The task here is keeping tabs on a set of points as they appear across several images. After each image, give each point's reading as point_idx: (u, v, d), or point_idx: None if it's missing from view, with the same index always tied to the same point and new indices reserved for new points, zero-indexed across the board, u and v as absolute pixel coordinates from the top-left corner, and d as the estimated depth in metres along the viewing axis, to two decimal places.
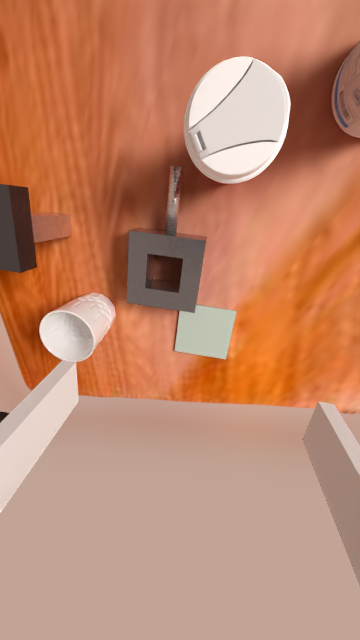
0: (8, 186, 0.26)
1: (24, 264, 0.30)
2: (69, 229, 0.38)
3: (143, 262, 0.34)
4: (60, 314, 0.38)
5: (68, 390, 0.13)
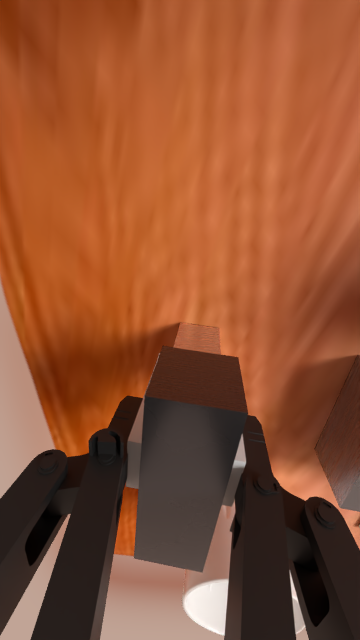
0: (245, 415, 0.07)
1: None
2: None
3: None
4: None
5: None
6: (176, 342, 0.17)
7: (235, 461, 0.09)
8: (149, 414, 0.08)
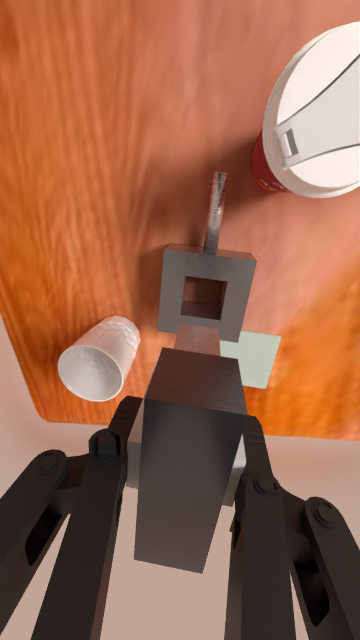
0: (245, 416, 0.07)
1: None
2: None
3: (180, 286, 0.29)
4: None
5: None
6: (176, 343, 0.17)
7: (235, 461, 0.09)
8: (149, 416, 0.08)
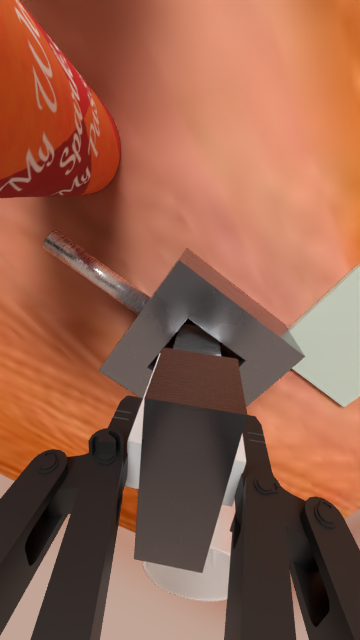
0: (244, 416, 0.07)
1: None
2: None
3: None
4: None
5: None
6: (176, 343, 0.17)
7: (235, 461, 0.09)
8: (149, 416, 0.08)
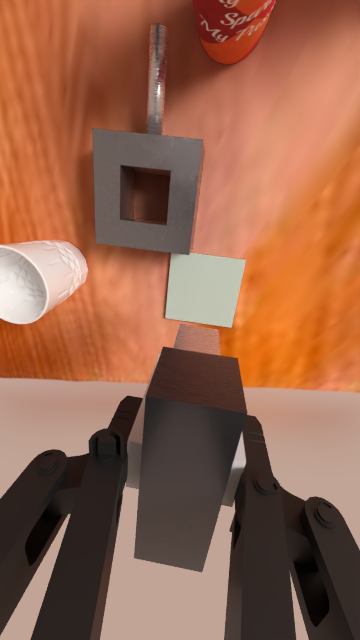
0: (244, 414, 0.07)
1: None
2: None
3: (115, 179, 0.24)
4: (7, 262, 0.28)
5: None
6: (176, 343, 0.17)
7: (235, 461, 0.09)
8: (150, 414, 0.08)
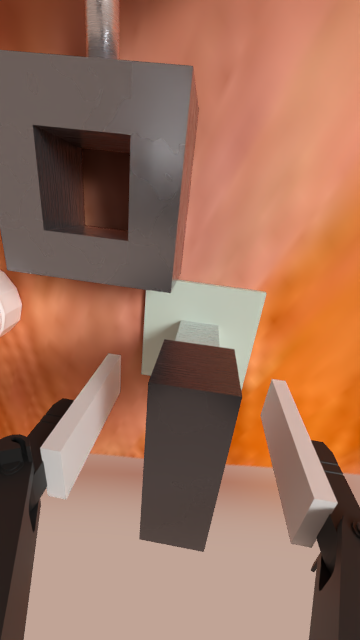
0: (240, 398, 0.08)
1: None
2: None
3: (27, 154, 0.13)
4: None
5: (115, 381, 0.14)
6: (177, 338, 0.17)
7: (325, 501, 0.08)
8: (153, 399, 0.08)
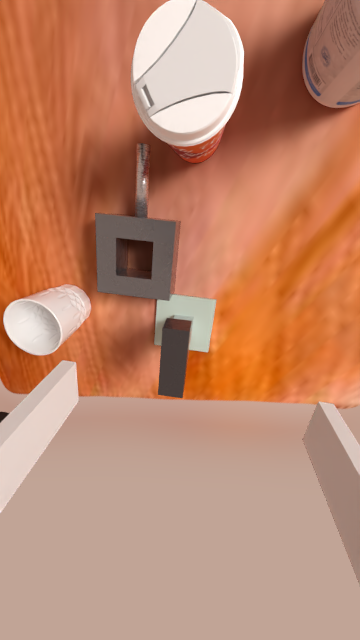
0: (189, 332, 0.27)
1: (183, 388, 0.31)
2: (192, 329, 0.40)
3: (112, 247, 0.32)
4: (29, 306, 0.36)
5: (68, 390, 0.13)
6: None
7: None
8: (163, 333, 0.28)
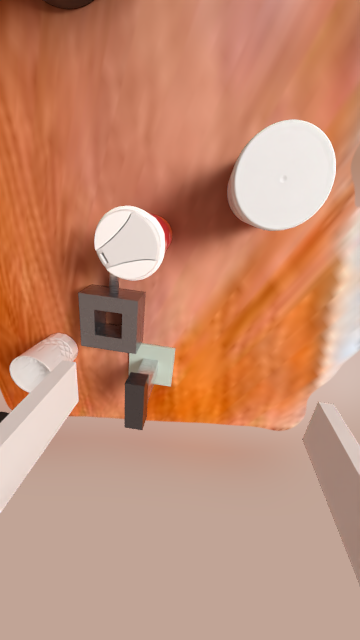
0: (144, 386, 0.38)
1: (143, 422, 0.42)
2: (157, 370, 0.51)
3: (92, 316, 0.43)
4: None
5: (68, 390, 0.13)
6: (140, 367, 0.48)
7: None
8: (126, 387, 0.39)
